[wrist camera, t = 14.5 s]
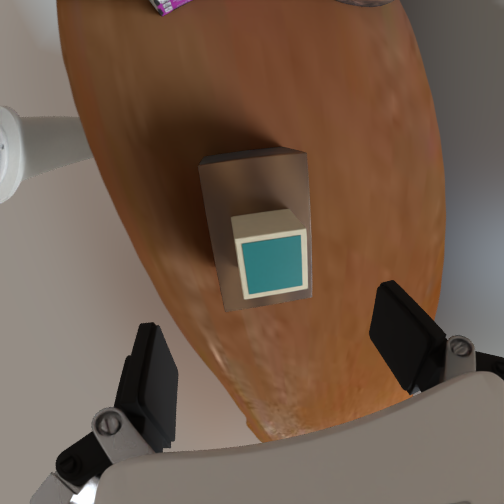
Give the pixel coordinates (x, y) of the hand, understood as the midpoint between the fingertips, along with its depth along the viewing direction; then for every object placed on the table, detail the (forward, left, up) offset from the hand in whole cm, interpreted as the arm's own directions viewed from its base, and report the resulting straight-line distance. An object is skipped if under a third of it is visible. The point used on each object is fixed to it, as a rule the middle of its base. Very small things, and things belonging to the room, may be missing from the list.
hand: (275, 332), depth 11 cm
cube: (+2, -3, -16) cm, 17 cm away
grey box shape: (+2, -3, -26) cm, 27 cm away
